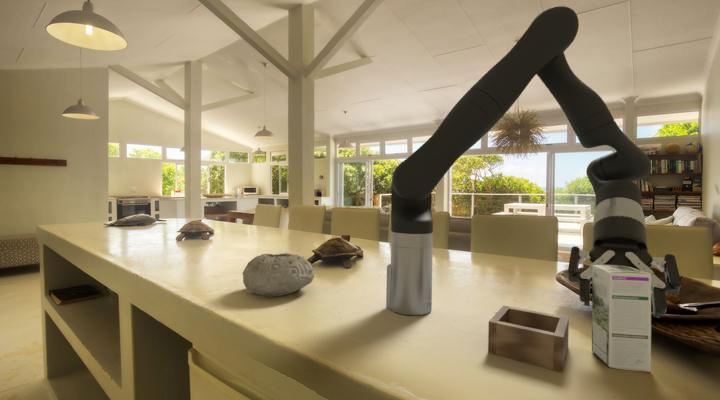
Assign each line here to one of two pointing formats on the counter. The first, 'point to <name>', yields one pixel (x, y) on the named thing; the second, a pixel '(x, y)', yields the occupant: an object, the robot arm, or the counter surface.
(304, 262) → the grey carved stone
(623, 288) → the syrup box
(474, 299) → the counter surface
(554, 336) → the walnut collar
